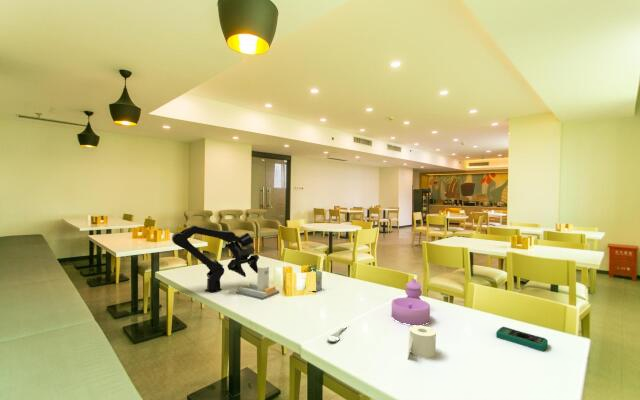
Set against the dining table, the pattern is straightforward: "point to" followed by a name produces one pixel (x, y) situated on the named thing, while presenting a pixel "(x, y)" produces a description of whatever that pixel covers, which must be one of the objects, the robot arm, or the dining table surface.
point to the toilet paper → (422, 341)
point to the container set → (411, 306)
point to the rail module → (263, 278)
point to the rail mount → (257, 292)
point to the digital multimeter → (522, 338)
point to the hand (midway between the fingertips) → (251, 274)
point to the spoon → (336, 334)
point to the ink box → (317, 277)
